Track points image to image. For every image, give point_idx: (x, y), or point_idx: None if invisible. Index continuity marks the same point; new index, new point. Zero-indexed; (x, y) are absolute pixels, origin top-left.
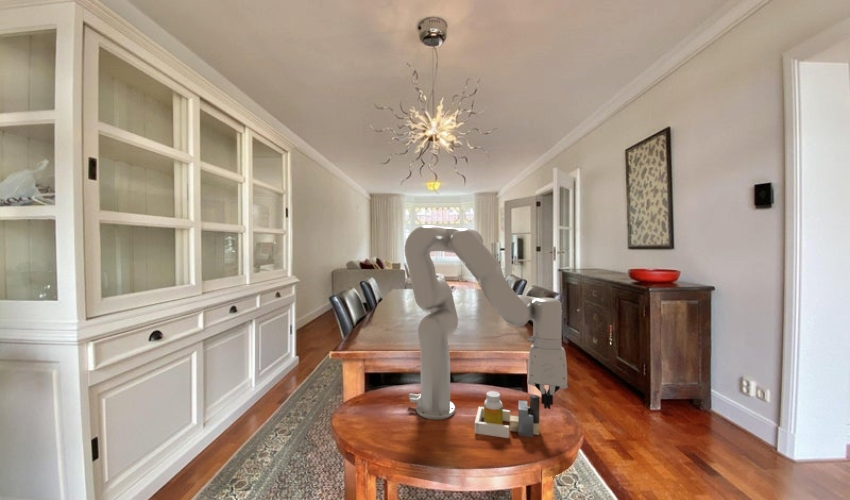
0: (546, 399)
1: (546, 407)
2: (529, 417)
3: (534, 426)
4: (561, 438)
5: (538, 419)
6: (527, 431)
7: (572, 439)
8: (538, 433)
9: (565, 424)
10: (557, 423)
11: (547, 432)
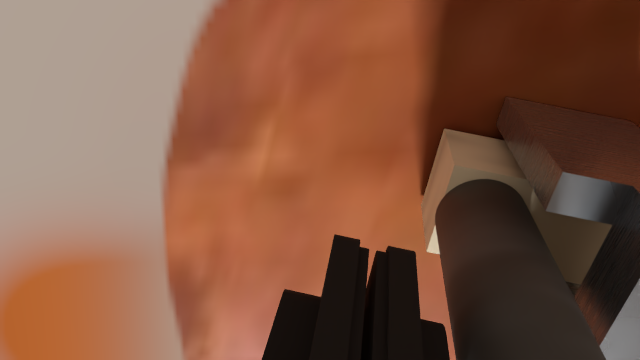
0: (383, 345)
1: (385, 255)
2: (605, 175)
3: (495, 162)
4: (275, 99)
5: (457, 205)
6: (569, 120)
7: (195, 90)
8: (451, 134)
9: (206, 269)
10: (257, 280)
11: (361, 173)
